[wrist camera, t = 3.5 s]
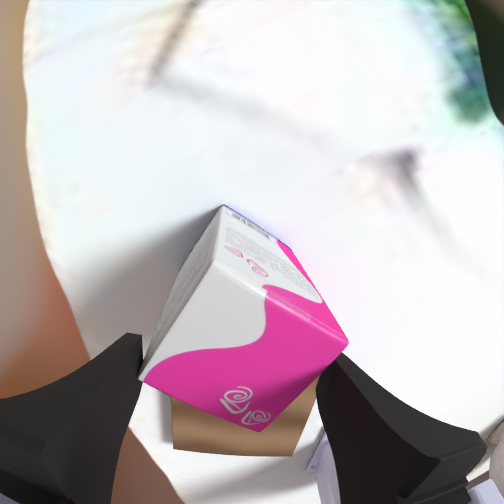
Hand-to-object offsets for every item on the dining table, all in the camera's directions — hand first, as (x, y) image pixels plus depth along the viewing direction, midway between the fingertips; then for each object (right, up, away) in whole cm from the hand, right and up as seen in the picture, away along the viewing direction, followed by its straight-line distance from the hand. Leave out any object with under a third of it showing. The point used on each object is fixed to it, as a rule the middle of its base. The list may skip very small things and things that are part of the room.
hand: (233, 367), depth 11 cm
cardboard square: (0, -9, +15) cm, 18 cm away
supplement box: (0, +4, +10) cm, 11 cm away
